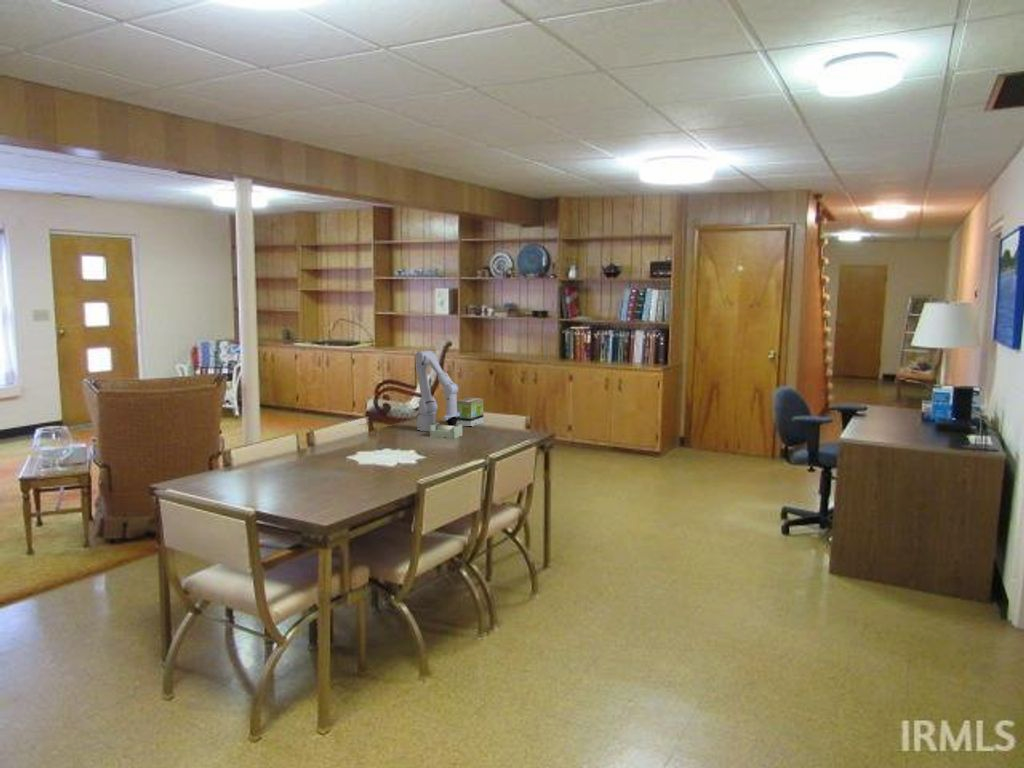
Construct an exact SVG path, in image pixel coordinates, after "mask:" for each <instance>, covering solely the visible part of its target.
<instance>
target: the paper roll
mask: <svg viewBox="0 0 1024 768" xmlns="http://www.w3.org/2000/svg"><path fill="white" fill-rule="evenodd" d="M452 427H454V426H448V424H447V425H445V424H440V425H439V426H438V430H439V431H451V432H452Z"/></svg>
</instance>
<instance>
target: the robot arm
mask: <svg viewBox="0 0 1024 768" xmlns="http://www.w3.org/2000/svg"><path fill="white" fill-rule="evenodd" d="M414 359H415V360H414V362H415V368H416V369H415V370H416V375H417V381H418V385H419V391H420V397H421V398H420V399H419V401H418V412H419V414H418V415H417V420H416V421H417V429H416V431H417V430H420V431H419V432H430V428H429V426H430V425H432V423H436V414H437V412H438V410H439V406H438V402H437V400H436V398H434V396H432V392H431V387H430V381H429V376H428V371H427V368H428V366H430V367H431V369H432V370H433V371H434V373H436V375H437V380H438V382H439V383H440V385H441V387H442V388H443V390H442V391H443V394H444V398H445V404H446V405H445V409H446V411H445V412H446V414H445V415H444V416H443V421H445V422H446V423H447V425H448V426H454V425H456V424H457V420H458V418H457V416H460V412H457V401H458V398H457V397H458V396H457V394H458V393H459V391H460V388H459V385H458V384H457V383H455V382H454V381H453V380H452V379H451V378H450V376H449V374H448V373H447V372H444V370H443V369H442V367H441V365H440V363H439V362H438V360H437V355H436V354H435V352H434V351H433V350H432V349H428V350H422V351H417V352H416V353H415V355H414Z"/></svg>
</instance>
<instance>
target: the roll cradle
mask: <svg viewBox="0 0 1024 768" xmlns="http://www.w3.org/2000/svg"><path fill="white" fill-rule="evenodd" d="M439 425H441V423H440V422H435V423H432V425H430V426H429V428H430V431H429V437H430V436H435V437H434V438H438V437H446V438H445V439H450V438H455V439H457V437H458V438H460V437H462V436H463V426H462V424H460V425H458V424H457V423H456V425H454V427H452V432H451V431H439V430H438V426H439ZM459 436H460V437H459Z"/></svg>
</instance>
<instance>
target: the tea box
mask: <svg viewBox="0 0 1024 768" xmlns="http://www.w3.org/2000/svg"><path fill="white" fill-rule="evenodd" d="M484 401H485V400H484V398H482V397H481V398H479V397H478V398H477V397H467V398H466V397H465V398H462V399H459V400H458V399H457V412H460V416H456V418H458V420H457V423H456V424H458V425H460V424H462V427H463V426H472V427H474V426H477V425H482V424H484Z"/></svg>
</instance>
